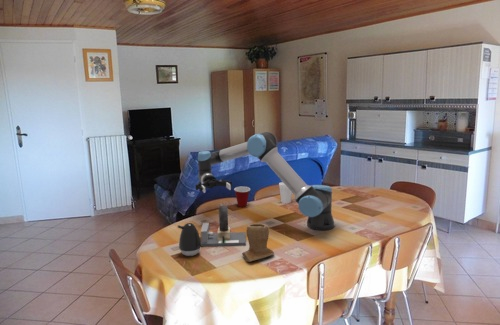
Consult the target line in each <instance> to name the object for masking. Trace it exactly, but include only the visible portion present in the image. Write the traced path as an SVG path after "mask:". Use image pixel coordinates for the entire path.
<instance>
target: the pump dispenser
mask: <svg viewBox="0 0 500 325" xmlns="http://www.w3.org/2000/svg"><path fill="white" fill-rule="evenodd" d="M177 228H178V229H180V230H181V232H180V235H179V241H178V249H179V250H180V253H182V255H184V256H185V257H194V256H195V255H197V254H199V252H200V250H201V235H200V234H199V232H198V229H197V227H196V225H195V224H194V223H191V222H187V223H185V224H184V225H180V224H179V225H177Z"/></svg>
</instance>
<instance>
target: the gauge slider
mask: <svg viewBox="0 0 500 325" xmlns="http://www.w3.org/2000/svg"><path fill="white" fill-rule="evenodd" d="M228 209H229V208H228V206H227V205H221V206H218V220H219V221H218V222H219V224H218V225H219V227H217V233H218V240H223V243H224V241H225V240H230V233H231V227H230V226H229V213H228V212H229V210H228Z"/></svg>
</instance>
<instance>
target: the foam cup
mask: <svg viewBox="0 0 500 325" xmlns="http://www.w3.org/2000/svg"><path fill="white" fill-rule="evenodd" d="M278 187H279V194H280V201H281V203H282V204H290V203H292V195H293V193H292V192H291V191H290V190H289V188H288V187H287V186H286V185H285V184H284V183H283V182H282V181H281V182H279V183H278Z"/></svg>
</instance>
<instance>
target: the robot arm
mask: <svg viewBox="0 0 500 325" xmlns="http://www.w3.org/2000/svg"><path fill="white" fill-rule="evenodd" d="M278 149H279V148H278V138H277V137H276V134H274V133H273V132H269V131H264V132H262V133H255V134H254V135H251V136H250V137H249V138H248V139H247V141H245V142H242V143H239V144H236V145H233V146H229V147H227V148H223V149H220V150H217V151H213V152H211V151H209V150H202V151H199V152H198V154H197V161H198V162H197V164H198V165H197V166H198V174H197V178H198V182H197V184H195V191H198V190H199V192H203V194H205V193H206V191H207V190H206V189H213V188H215V187H225V188H226V189H227V190H229V191H231V189H232V187H233V181H231V180H225V179H222V178H221V179H217V178H216V177H215V176H214V175H213V174H212V166H214V165H217V164H221V163H225V162H227V161H231V160H235V159H238V158H241V157H242V158H243V157H245V156H248V155H250V156H252V157H254V158H257V159H258V160H259V161H260V162H261V163H266V164H267V166H268V167H269V168H270V169H271V170H272V171H273V173H274V174H275V175H276V176H277V177H278V179H280V181H281V182H283V183H284V184H285V185H286V186H287V187H288V188H289V190H290V191H291V192H292V195H294V201H295V203H297V204H298V205H297V206H298V210H299V212H300V213H301V215H304V217H307V221H306V226H307V227H308V228H309V229H312V230H314V231H315V230H316V231H329V230H332V229H334V228H335V220H334V218H333V214H332V204H333V203H332V202H333V201H332V200H333V196H332V194H333V191H332V190H333V188H332V187H331V186H329V185H323V184H311V185H309V184H307V183H306V182H305V180H303V179H302V177H301V176H299V174H298V173H297V172H296V171H295V170H294V168H292V166H291V165H290V164H289V163H288V162H287V161H286V159H285V158H283V156H282V155H281V154H280V153H279V152H278V151H279V150H278Z"/></svg>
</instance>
